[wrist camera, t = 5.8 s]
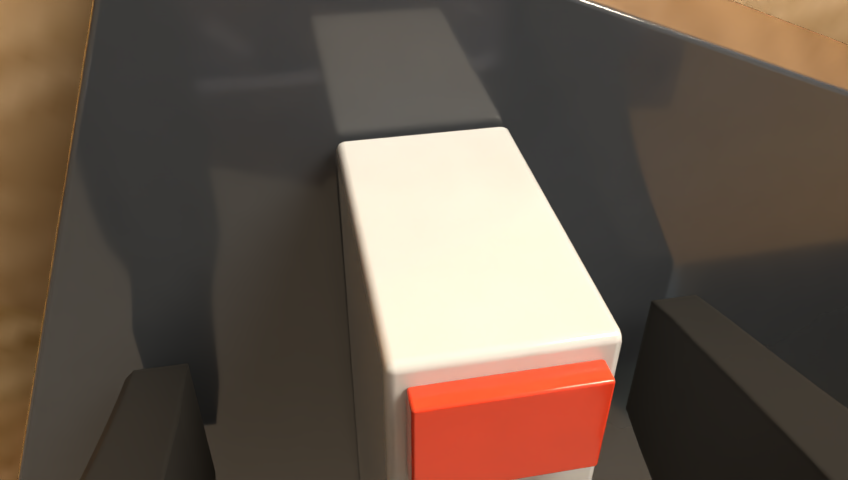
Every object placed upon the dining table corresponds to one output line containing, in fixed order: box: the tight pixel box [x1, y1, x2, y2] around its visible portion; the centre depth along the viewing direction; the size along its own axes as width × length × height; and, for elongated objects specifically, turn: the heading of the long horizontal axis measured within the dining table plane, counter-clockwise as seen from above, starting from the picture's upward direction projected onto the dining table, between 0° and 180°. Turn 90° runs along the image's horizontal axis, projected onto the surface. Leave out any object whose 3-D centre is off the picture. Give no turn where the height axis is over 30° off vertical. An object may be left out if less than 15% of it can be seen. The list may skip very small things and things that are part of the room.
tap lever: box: [336, 126, 622, 480], centre depth 9 cm, size 7×2×4 cm, turn 0°
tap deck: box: [17, 0, 848, 480], centre depth 12 cm, size 13×10×3 cm
